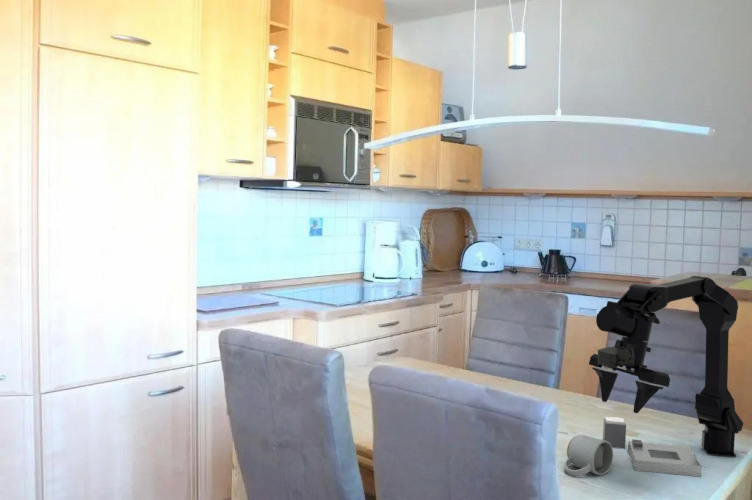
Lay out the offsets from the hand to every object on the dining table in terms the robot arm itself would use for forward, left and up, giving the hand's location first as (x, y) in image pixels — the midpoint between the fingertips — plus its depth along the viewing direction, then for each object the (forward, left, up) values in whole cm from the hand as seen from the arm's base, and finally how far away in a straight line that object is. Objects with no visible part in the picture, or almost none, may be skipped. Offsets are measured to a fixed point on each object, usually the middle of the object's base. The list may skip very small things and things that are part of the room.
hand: (619, 407), depth 157 cm
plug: (-1, -20, -16) cm, 26 cm away
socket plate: (-11, -10, -15) cm, 22 cm away
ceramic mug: (+7, 0, -16) cm, 17 cm away
